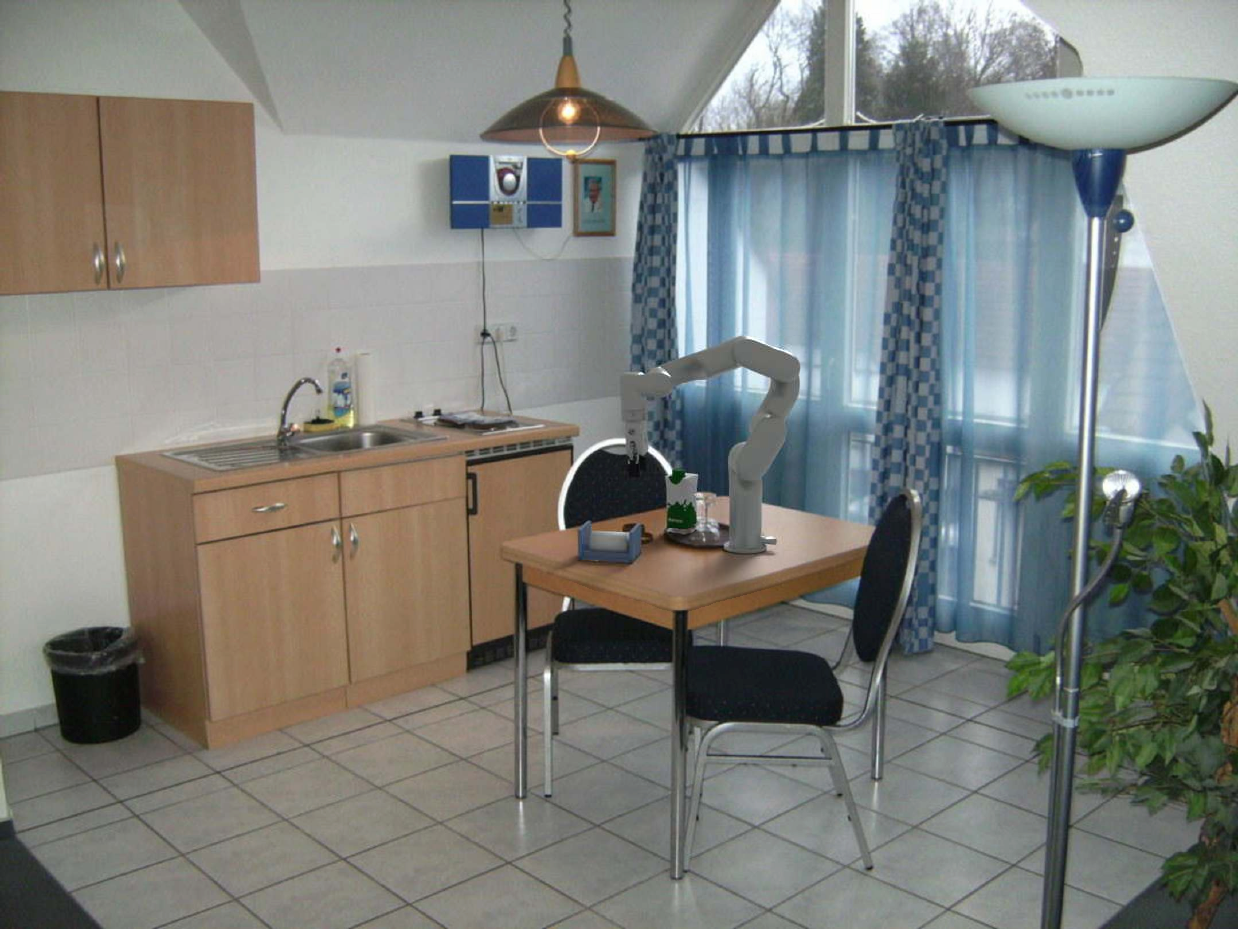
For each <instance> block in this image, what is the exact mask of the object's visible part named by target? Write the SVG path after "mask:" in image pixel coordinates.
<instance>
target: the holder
mask: <svg viewBox="0 0 1238 929" xmlns="http://www.w3.org/2000/svg"><path fill="white" fill-rule="evenodd" d="M641 524H642V523H641V522H637V524H636V525H635V526H634V528H633V529H632V530H631V531H630V532H629V553H614V552H594V551H590V548H589V538H590V534H591V532H592V521H591V520H587V521H586V522H585V523H584V524H582V526H580V527H579V528H578V529H577V558H578V559H577V560H598V561H605V562H604V563H617V562H625V563H624V564H634V563H635V562H636V560H637V559H639V557H640V555H642V544H641V540H642V538H641ZM638 556H639V557H638ZM598 561H597V562H598ZM633 562H634V563H633Z"/></svg>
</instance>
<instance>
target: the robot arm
mask: <svg viewBox="0 0 1238 929" xmlns="http://www.w3.org/2000/svg"><path fill="white" fill-rule="evenodd" d="M739 368H745V369H747V370H750V371H751V372H753V373H757V374H758V375H761V376H764V377H766V378H769V379H770V384H769V388H768V390H767V393H766V395H765V396H764V399H763V400H762V402H761V403H760V405H759V407H758V409H756V412H755V413H754V415H753V416H752V417H751V420H750V422H749V425H748V431H749V436H748V438H747V440H746V441H741V442H738V443H736V444H734V445H733V446H732V448H731V449H730V451H729V454H728V460H727V462H728V464H727V465H728V468H727V469H728V481H729V482H728V483H729V484H728V487H729V492H728V493H729V497H728V500H729V502H728V503H729V504H728V505H729V506H728V507H729V510H728V514H729V515H728V521H729V522H728V525H729V526H728V537H729V538H728V541H726V542H724V543H723V549H724V550H725V551H727V552H730V553H733V554H734V553H735V554H748V555H749V554H758V553H762V552H765V551H766V550H767V549H768V546H767V545H772V546H777V543H778V542H777V540H778V539H777V538H776V537H774V536H766V535H764V534H765V532H764V531H763V530H762V528H763V526H762V525H763V524H762V523H763V522H762V521H763V520H762V518H763V517H762V516H763V513H762V512H763V511H762V510H763V476H765V474H766V473H767V471H768V470H769V469H770V467H771V465H772V463H773V462H774V460H775V459H776V457H777V455H778V454H779V451H780V450H781V449H782V447H783V445H784V443H785V441H786V437H787V434H788V432H787V430H788V428H787V425H786V421H787V420H788V418H789V416H790V414H791V411H792V410H793V408H794V406H795V404H796V402H797V400H798V398H799V393H800V390H801V389H800V388H801V380H800V372H801V363H800V361H799V359H798V357H797V356H796V355H794V354H793V353H792V352H790V351H788V350H786V349H781V348H780V349H779V348H777V347H774V346H772V345H769V344H767V343H765V342H762V341H760V340H758V339H756V338H755V337H752V336H750V335H746V334H743V335H738V336H735V337H733V338H730V339H728V340H725V341H723V342H720V343H718V344H716V345H712V346H709V347H707V348H705V349H702V350H699V351H695V352H692V353H690V354H688V355H685V356H682V357H679V358H676V359H675V358H674V359H673V360H671V361H667V362H665V363H662V364H660V365H657V366H655V367H653V368H651V369H649V370H648V372H647V373H644V372H641V371H627V372H623V373H622V374H620V376H619V379H618V380H619V395H620V396H619V397H620V413H621V422H623V423H625V424H624V425H625V426H624V430H625V433H624V435H625V452H626V456H628V457H627V461H628V462H627V466H628V468H627V469H628V477H629V478H634V479H635V478H640V477H641V471H647V453H648V451H649V447H650V446H649V437H648V427H647V421H648V420H649V416H648V401H647V399H648V398H664V397H667V396H669V395H670V394H671V393H672V392H673V389H674V388H675V387H677V386H680V385H683V384H687V383H689V382H693V381H707V380H711V379H715V378H716V377H717V378H718V377H719V376H721V375H723V374H727V373H729V372H732V371H734V370H737V369H739Z"/></svg>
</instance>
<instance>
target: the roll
mask: <svg viewBox="0 0 1238 929" xmlns="http://www.w3.org/2000/svg"><path fill="white" fill-rule="evenodd" d="M589 548H590V551H594V552H614V553H629V532H622V531H605V530H604V531H603V530H591V534H590V538H589Z"/></svg>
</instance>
